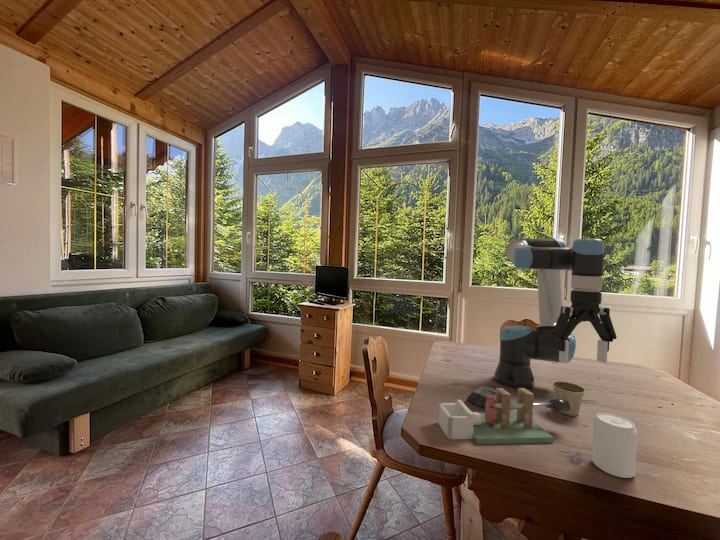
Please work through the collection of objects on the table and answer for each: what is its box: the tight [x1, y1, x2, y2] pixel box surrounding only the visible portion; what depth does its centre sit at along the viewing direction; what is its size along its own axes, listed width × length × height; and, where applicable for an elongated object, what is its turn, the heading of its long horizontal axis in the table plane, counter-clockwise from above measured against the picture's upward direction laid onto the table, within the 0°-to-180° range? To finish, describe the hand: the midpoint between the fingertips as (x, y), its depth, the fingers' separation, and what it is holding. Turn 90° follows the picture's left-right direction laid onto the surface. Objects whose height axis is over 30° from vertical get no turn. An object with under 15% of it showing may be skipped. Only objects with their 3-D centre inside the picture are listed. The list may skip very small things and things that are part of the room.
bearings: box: [495, 387, 534, 429], centre depth 91 cm, size 9×4×10 cm, turn 95°
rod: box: [484, 395, 570, 426], centre depth 91 cm, size 25×4×8 cm, turn 95°
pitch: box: [461, 411, 554, 445], centre depth 91 cm, size 22×14×2 cm, turn 95°
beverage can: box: [591, 412, 638, 479], centre depth 74 cm, size 8×8×12 cm
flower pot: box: [551, 380, 587, 417], centre depth 103 cm, size 9×9×9 cm
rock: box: [466, 385, 512, 411], centre depth 107 cm, size 14×11×5 cm
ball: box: [472, 411, 483, 426], centre depth 90 cm, size 4×4×4 cm
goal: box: [437, 399, 474, 440], centre depth 89 cm, size 7×9×7 cm
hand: (582, 361), depth 92 cm, fingers open, 12 cm apart
